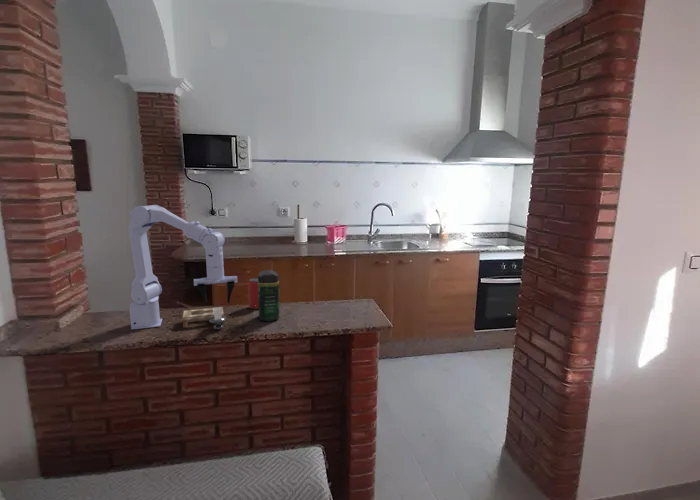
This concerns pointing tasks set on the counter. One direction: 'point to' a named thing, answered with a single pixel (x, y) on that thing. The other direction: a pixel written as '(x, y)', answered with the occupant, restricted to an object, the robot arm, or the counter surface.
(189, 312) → the keyhole bridge
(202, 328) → the counter surface
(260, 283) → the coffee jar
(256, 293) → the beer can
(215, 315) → the hanger peg
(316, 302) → the counter surface
